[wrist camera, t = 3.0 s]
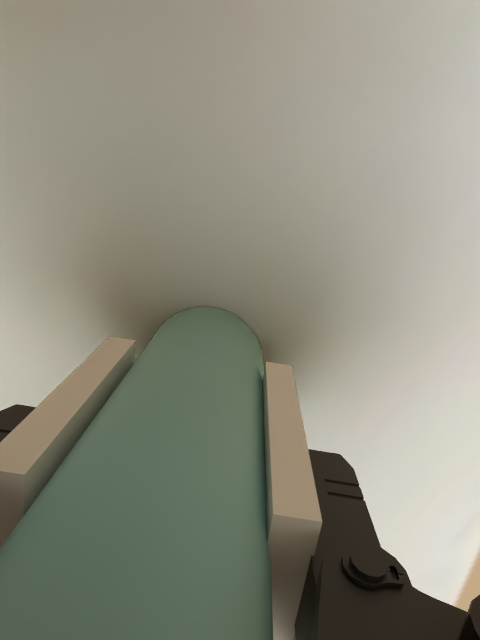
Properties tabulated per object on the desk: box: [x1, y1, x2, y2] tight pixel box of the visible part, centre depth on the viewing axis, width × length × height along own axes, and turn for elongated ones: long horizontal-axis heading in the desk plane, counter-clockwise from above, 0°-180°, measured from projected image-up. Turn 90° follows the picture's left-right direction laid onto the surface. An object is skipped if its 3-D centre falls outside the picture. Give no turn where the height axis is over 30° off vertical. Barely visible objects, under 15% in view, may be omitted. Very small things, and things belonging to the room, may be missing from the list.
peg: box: [0, 307, 273, 640], centre depth 9 cm, size 4×4×14 cm
